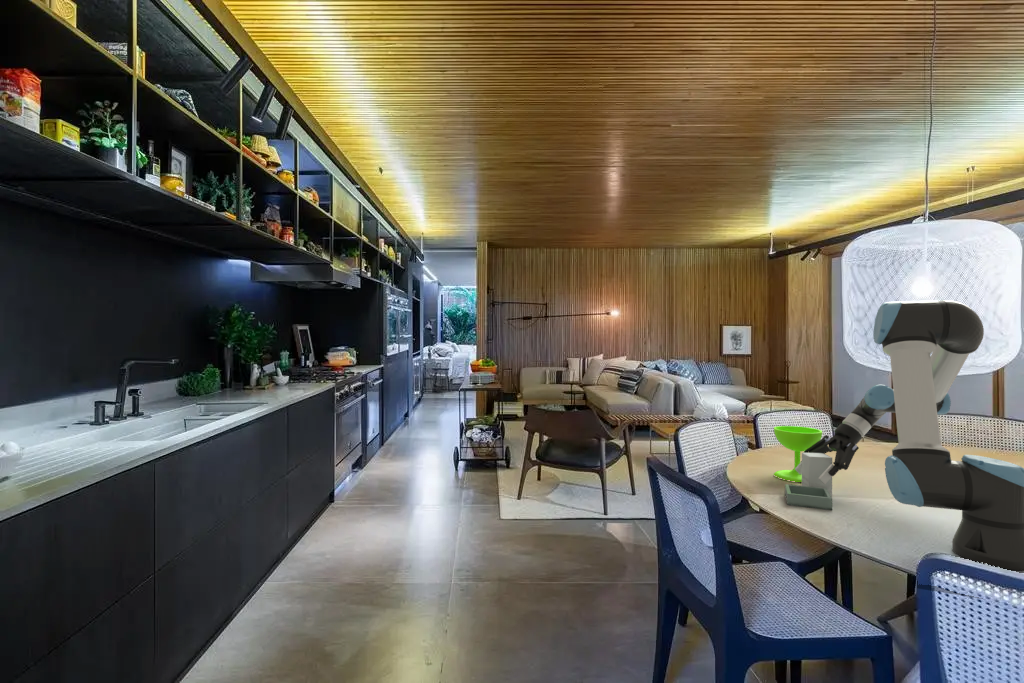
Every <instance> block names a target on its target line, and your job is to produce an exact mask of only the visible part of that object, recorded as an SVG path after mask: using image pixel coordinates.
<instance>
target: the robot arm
mask: <svg viewBox="0 0 1024 683" xmlns="http://www.w3.org/2000/svg"><path fill="white" fill-rule="evenodd" d="M984 330H985V329H984V324H983V322H982V319H981V318H980V316H979V315H978V314H977V312H975V311H974V310H973V309H972V308H971V307H969V306H968V305H966V304H964V303H962V302H959V301H954V300H948V299H945V300H943V299H942V300H905V301H904V300H899V301H887V302H884V303H882V304H880V306H879V308H878V310H877V312H876V315H875V320H874V326H873V340H874V341H873V342H874V344H877V345H881V346H882V347H881V348H882V351H883V353H884V354H886V355H888V356H889V358H890V367H891V368H890V369H891V378H892V379H891V380H892V387H893V388H891V387H890V386H888V385H885V384H877V385H873V386H872V387H871V388H869V389H868V390H867V391H866V393H865V394H864V396H863V398H862V399H861V400H860V402H859V403H858V404H857V405H856V407H855V408H854V409H853V410H852V411H851V412H850V413H849V414H848V415H847V416H846V417H844V419H843V420H842V423H840V424H839V425H838V426H837V427H836V428H835V430H834V435H832V436H831V437H830V436H829V435H827V434H826V435H824V436H822V437H821V439H820V441H818V442H817V443H815V444H814V445H812V446H811V447H810V448H808V449H807V450H805V451H803V453H824V454H827V453H832V452H835V457H834V461H832V464H831V465H830V466H829V467H828V468H827V469H826V470H825V471H824V472H823V473H822V474H821V476H820V477H819V478H818V479H819V480H820V481H821V482H822V483H823V484H826V483H827V482H828V481H829V480H830V479H831V477H832V478H833V477H834V476H835V475H836V474H837V473H839V471H842V470H844V471H847V470H848V468H849V467H850V465H851V462H852V460H853V458H854V456H855V454H856V452H858V450H859V446H858V445H857V444H858V443H859V442H860V441H861V440H862V439H863V437H864V436H866V434H867V433H868V432H869V430H871V429H872V428H873V426H874V425H876V423H877V422H879V420H880V419H881V418H882V417H883V416H884V415H885V414H886V413H895V420H896V430H897V431H896V432H897V440H898V441H897V442H898V444H897V445H896V446H894V447H893V448H892V449H891V453H892V454H891V455H889V456H887V457H886V458H885V461H884V466H885V468H884V472H885V478H886V482H887V486H888V489H889V491H890V493H891V495H892V497H893V498H894V499H895V500H896V501H897V502H898V503H900V504H903V505H909V506H914V507H915V506H916V507H918V508H922V507H925V508H936V509H946V510H955V511H956V510H957V511H961V521H960V522H959V524H958V527H957V529H956V531H955V534H954V536H953V538H952V541H951V542H952V544H951V545H952V548H951V549H952V551H953V552H954V553H956V554H957V555H958V556H960V557H962V558H965V559H967V558H968V559H967V560H969V559H971V560H970V561H972V560H974V561H973V562H975V561H978V562H983V563H987V564H990V565H994V566H999V567H1002V568H1001V569H1004V568H1006V569H1005V570H1012V571H1024V467H1022V466H1021V465H1018V464H1016V463H1013V462H1009V461H1005V460H1002V459H997V458H992V457H988V456H987V457H986V456H982V455H975V454H963V455H962V457H961V460H953V459H951V451H950V450H948V449H947V448H946V447H944V446H943V445H942V442H941V441H942V440H941V433H940V432H941V431H940V425H939V416H938V415H947V414H948V413H949V412H950V409H951V404H952V403H951V402H952V400H951V397H950V394H949V393H948V392H949V391H950V390H951V389H950V388H951V387H952V386H953V383H955V380H956V378H957V376H958V375H959V373H960V371H961V370H962V368H963V365H964V364H965V363H966V361H967V359H968V357H969V355H970V354H972V353H974V352H976V351H977V350H978V348H979V347H980V345H981V344H982V342H983V339H984V334H985V331H984ZM795 470H796V471H797V472H798V473H799V474H800V475H801V474H802V460H800V464H799V465H798V466H797V467H796V468H795ZM978 562H977V563H978ZM994 566H993V567H994Z"/></svg>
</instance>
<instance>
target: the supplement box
mask: <svg viewBox="0 0 1024 683" xmlns="http://www.w3.org/2000/svg"><path fill="white" fill-rule="evenodd" d="M801 461H802V483H801V486H809V487H818V488H827V490H828V492H829V493H830V495H831V496H832V495H833V476H832V477H831V479H830V480H829V481H828V482H827V483H826V484H823V483H822V482H821V481H820V480H819V479H818V478H819V477H820V476H821V474H822V473H823V472H824V471H825V470H826V469H827V468H828V467H829V466H830V465H831V464H833V456H832V457H831V456H830V455H828V454H827V453H825V454H824V453H804V452H801Z"/></svg>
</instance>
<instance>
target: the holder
mask: <svg viewBox="0 0 1024 683" xmlns="http://www.w3.org/2000/svg"><path fill="white" fill-rule="evenodd" d="M784 496H786V497H785V500H786V505H787V506H793V507H802V508H811V509H819V510H828V511H833V497H832V495H830V493H829V492H828V490H827V488H818V487H809V486H802V485H798V484H787V483H785V484H784Z"/></svg>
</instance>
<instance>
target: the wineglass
mask: <svg viewBox="0 0 1024 683" xmlns="http://www.w3.org/2000/svg"><path fill="white" fill-rule="evenodd" d="M773 432H774V436H775V438H776V440H777V441H778V442H779V443H780V445H782V446H783V447H784V448H786V449H788V450H791V451H793V452H794V462H793V463H794V467H793V469H780V470H777V471H775V472H774V473H773V475H775V476H777V477H779V478H782V479H785V480H790V481H795V482H802V474H801V475H800V474H799V473H798V472H797V471H796V470H795V468H796V467H797V466H798V465H799V464H800V462H801V452H804V451H805V450H807V449H808V448H810V447H811V446H812V445H814V444H815V443H817V442H818V441H820V440H821V439H822V438H823V430H821V429H818V428H814V427H807V426H797V425H796V426H795V425H778V426H774V427H773Z"/></svg>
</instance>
